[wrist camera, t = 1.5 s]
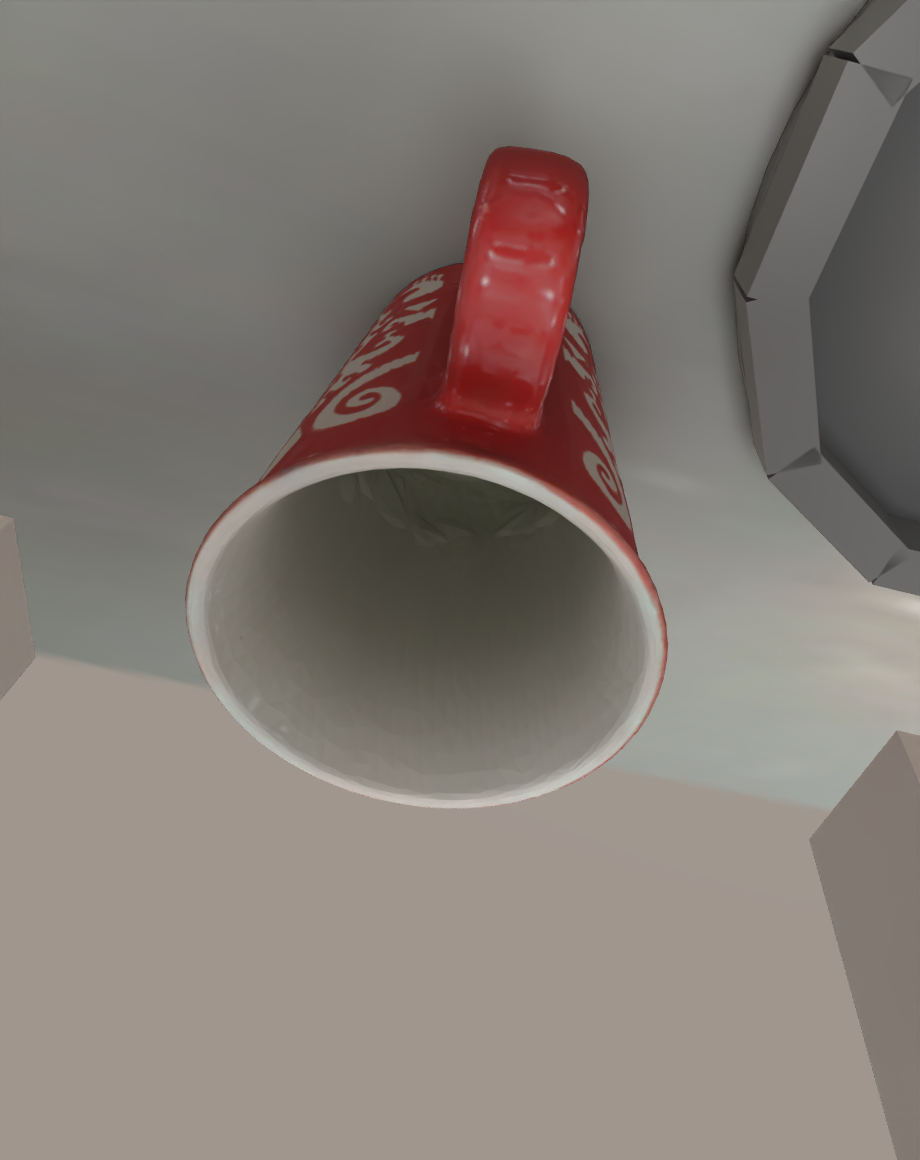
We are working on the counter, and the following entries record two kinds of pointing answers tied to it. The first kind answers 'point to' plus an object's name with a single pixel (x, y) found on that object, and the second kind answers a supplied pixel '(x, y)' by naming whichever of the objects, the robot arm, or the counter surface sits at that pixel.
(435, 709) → the mug
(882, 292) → the tray
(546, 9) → the counter surface
